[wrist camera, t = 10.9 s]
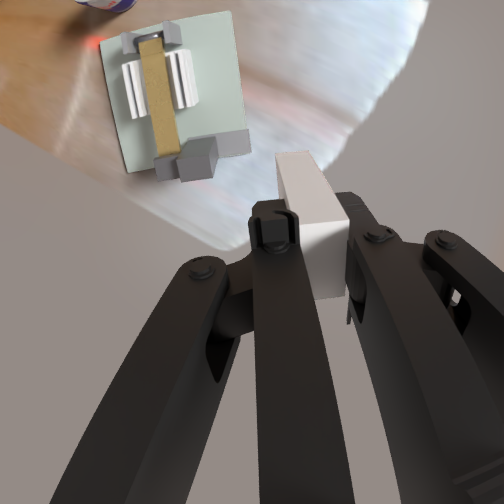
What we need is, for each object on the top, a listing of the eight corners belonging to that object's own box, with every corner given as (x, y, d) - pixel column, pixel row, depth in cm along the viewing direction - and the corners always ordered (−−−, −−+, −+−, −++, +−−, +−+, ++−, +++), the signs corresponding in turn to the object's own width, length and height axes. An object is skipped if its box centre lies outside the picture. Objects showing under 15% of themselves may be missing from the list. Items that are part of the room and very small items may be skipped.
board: (102, 42, 37) (76, 41, 30) (232, 11, 36) (229, 1, 29) (129, 170, 49) (111, 191, 42) (251, 151, 48) (252, 169, 41)
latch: (166, 144, 45) (149, 164, 37) (215, 136, 45) (208, 154, 37) (170, 162, 47) (154, 186, 39) (218, 155, 47) (212, 177, 39)
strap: (137, 37, 33) (133, 36, 32) (166, 30, 33) (163, 28, 32) (160, 167, 42) (157, 170, 41) (188, 163, 42) (186, 165, 41)
